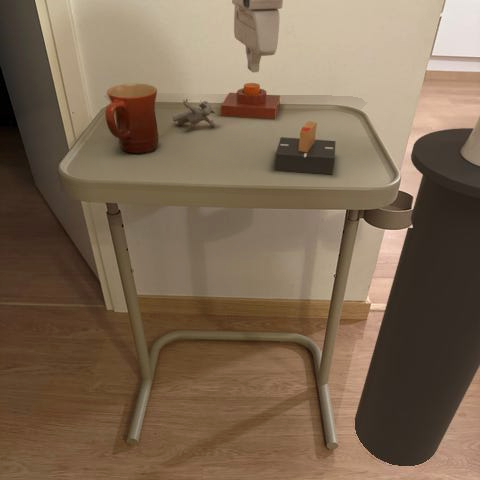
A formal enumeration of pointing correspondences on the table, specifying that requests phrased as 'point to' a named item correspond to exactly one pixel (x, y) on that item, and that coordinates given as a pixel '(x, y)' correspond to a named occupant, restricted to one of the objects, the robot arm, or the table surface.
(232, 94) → the button box
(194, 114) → the grey branched piece
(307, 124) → the tan upright tile
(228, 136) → the table surface
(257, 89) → the button
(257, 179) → the table surface
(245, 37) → the robot arm
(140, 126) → the mug
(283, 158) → the panel
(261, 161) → the table surface
